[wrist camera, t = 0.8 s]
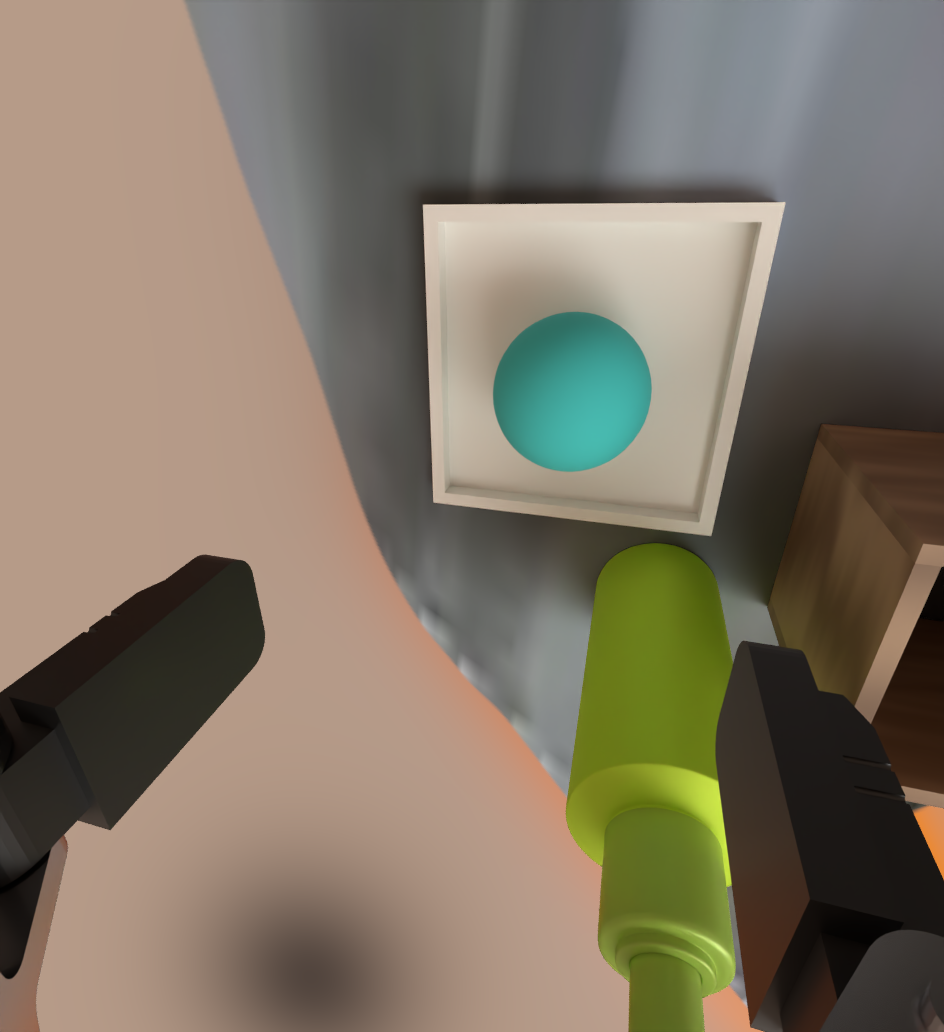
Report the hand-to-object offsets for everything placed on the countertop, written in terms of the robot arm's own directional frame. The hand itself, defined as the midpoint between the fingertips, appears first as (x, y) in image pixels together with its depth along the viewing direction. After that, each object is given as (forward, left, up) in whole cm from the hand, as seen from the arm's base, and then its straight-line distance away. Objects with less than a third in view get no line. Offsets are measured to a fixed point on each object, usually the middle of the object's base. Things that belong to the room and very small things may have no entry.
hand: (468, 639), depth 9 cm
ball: (0, 0, -15) cm, 15 cm away
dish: (0, 0, -18) cm, 18 cm away
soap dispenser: (+11, +5, -18) cm, 22 cm away
